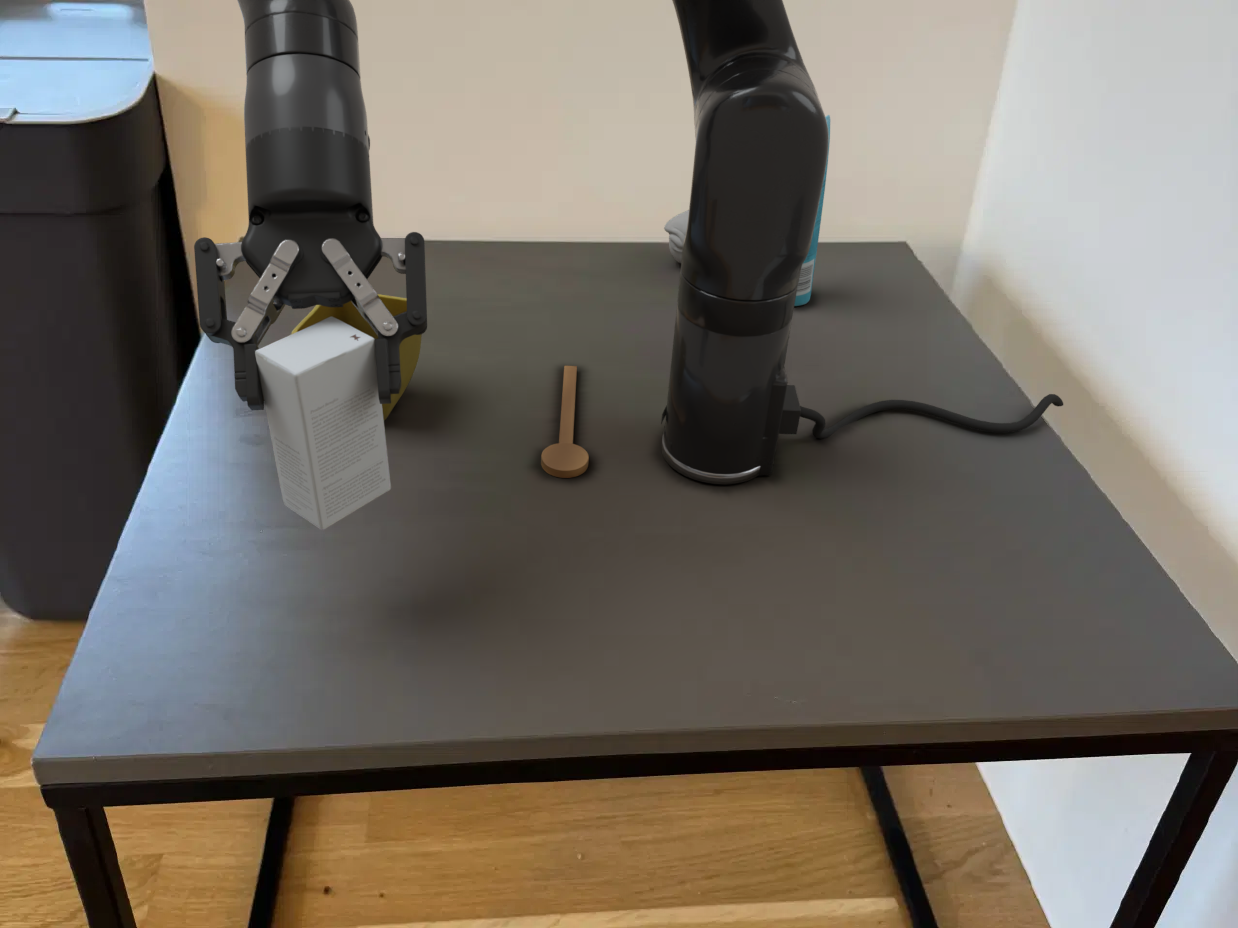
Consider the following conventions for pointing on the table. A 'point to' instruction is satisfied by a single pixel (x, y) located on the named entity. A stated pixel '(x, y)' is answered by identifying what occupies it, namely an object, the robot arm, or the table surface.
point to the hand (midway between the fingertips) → (321, 404)
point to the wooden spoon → (566, 436)
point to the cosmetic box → (325, 420)
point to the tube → (811, 249)
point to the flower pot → (353, 318)
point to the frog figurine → (677, 234)
